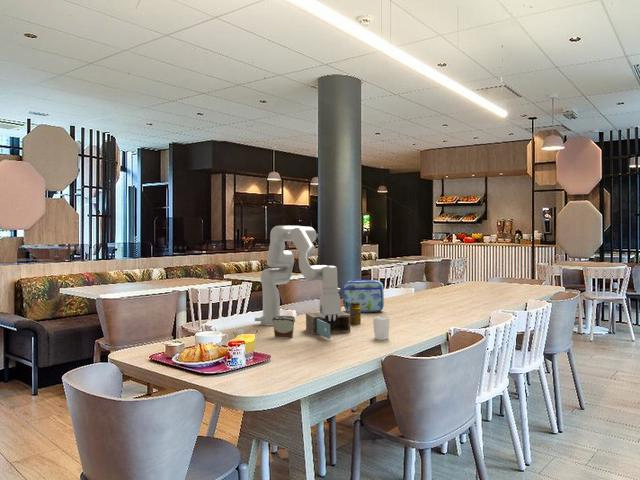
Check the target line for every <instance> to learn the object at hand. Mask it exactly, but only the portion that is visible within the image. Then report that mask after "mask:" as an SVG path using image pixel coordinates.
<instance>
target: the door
mask: <svg viewBox="0 0 640 480" xmlns="http://www.w3.org/2000/svg"><path fill="white" fill-rule="evenodd" d="M316 326H317V333H318V334H319V335H320V336H322V337H324V338H326V339H329V340H330V339H331V334H330V324H329V323H326V322H324V321H322V320H319V319H316Z"/></svg>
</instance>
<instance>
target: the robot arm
mask: <svg viewBox="0 0 640 480" xmlns="http://www.w3.org/2000/svg"><path fill="white" fill-rule="evenodd" d="M269 235H270V236H269V239H270V241H269V242H270V243H269V248H268V252H267V257H266V264H267V266H268V267H269V268H265V269H263V270H262V272H261V273H260V282H261V288H262V315H261V317H254V322H260V325H261V326H265V327H267V326H273V321H272V318H273V317H274V316H281V313H280V311H281V309H280V307H281V305H280V303H281V301H280V299H281V298H280V291H279V289H278V287H277V285H285V284H288V283H289V282H290V280H291V276H292V272H293V268H294V263H295V256H294V254H293V252H292V251H291V250H287V249H286V244H285V242H293V244H294V246H295V248H296V251H297V252H298V253H299V258H298V267H299V271H300V273H301V274H302V276H303V277H304V279H305V280H307V281H309V282H315V281H321V286H322V288H321V290H322V291H321V292H322V293H321V294H320V297H319V312H320V314H321V315H320V317H323V318H326V319H327V320H328V323H329V324H330V329H334V327H335V319H336V318H337V317H338V316H341V311H342V302H341V296H340V293H339V292H340V291H341V288H339V287H338V286H339V285H338V282H339V281H338V268H337V266H335V265H326V264H321V265H320V264H317V265H311V264H310V263H309V261H308V258H310V257H311V256H312V255H313V254H314V253H316V252H315V251H316V247H315V245H314V242H315V241H316V240H317V236H318V235H317V231H316V229H314V228H313V227H312V226H303V225H275V226H274V227H272V229H271V230H270V234H269ZM285 249H286V250H285ZM330 315H331V316H330ZM273 327H274V326H273Z"/></svg>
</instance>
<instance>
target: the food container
mask: <svg viewBox="0 0 640 480" xmlns="http://www.w3.org/2000/svg"><path fill="white" fill-rule="evenodd" d="M272 321H273V332H274V333H273V334H274V337H275V338H282V339H283V338H284V339H293V338H294V326H295V323H296V318H295V316H292V315H280V316H274V317H273V318H272Z"/></svg>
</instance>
